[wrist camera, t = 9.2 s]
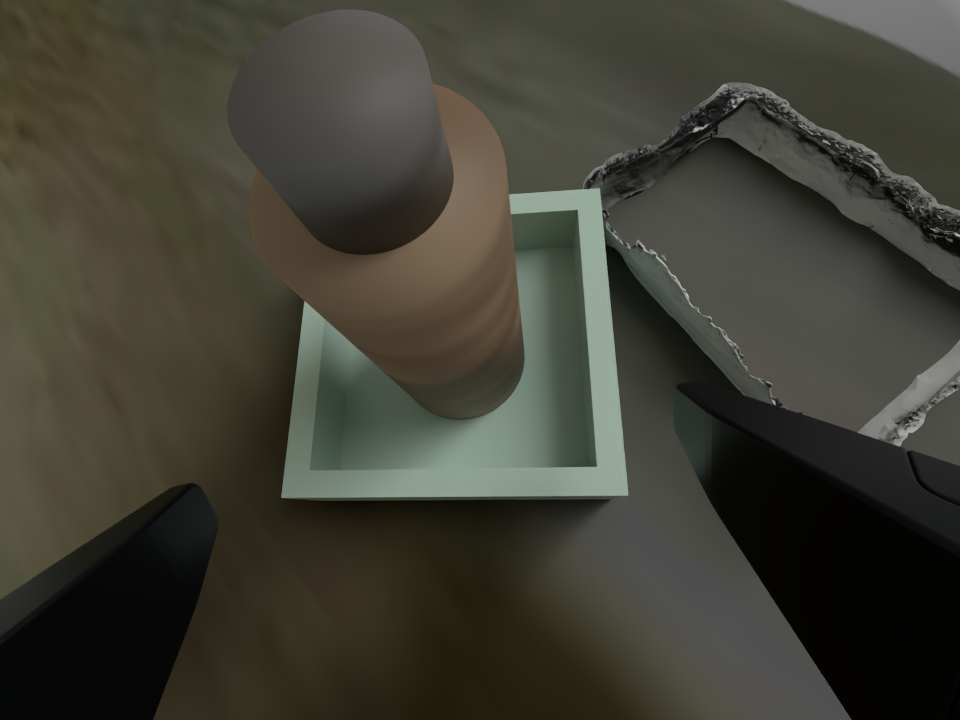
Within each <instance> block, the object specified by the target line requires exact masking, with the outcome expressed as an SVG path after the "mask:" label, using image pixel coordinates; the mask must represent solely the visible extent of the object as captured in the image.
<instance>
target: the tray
mask: <svg viewBox="0 0 960 720" xmlns="http://www.w3.org/2000/svg"><path fill="white" fill-rule="evenodd" d="M509 199H510V209H511V220H512V230H513V240H514V250H515V261H516V271H517V281H518V291H519V302H520V312H521V322H522V332H523V343H524V354H525V360H524V368H523V373H522V376H521V379H520V381H519V383H518V385H517V387H516V389H515V390H514V392H513V393H512V395H511V396H510V397H509V398H508V399H507V400H506V401H505V402H504V403H503V404H502V405H501V406H499V407H498V408H496V409H495V410H493V411H492V412H490V413H487V414H485V415H483V416H480V417H477V418H472V419H464V420H456V419H448V418H443V417H440V416H438V415H435V414H433V413H431V412H429V411H427V410H426V409H425V408H423V407H422V406H421V405H420V404H418V403H417V402H416V401H415V400H414V399H413V398H412V397H411V396H410V395H408V394H407V393H406V392H405V391H404V390H403V389H402V388H401V387H400V386H398V385H397V384H396V383H395V382H394V381H393V380H392V379H391V378H390V377H388V376H387V375H386V374H385V373H384V372H383V371H382V370H381V369H380V368H379V367H377V366H376V365H375V364H374V363H373V362H372V361H371V360H370V359H369V358H367V357H366V356H365V355H364V354H363V353H362V352H361V351H360V350H359V349H357V348H356V347H355V346H354V345H353V344H352V343H351V342H350V341H349V340H347V339H346V338H345V337H344V336H343V335H342V334H341V333H340V332H339V331H337V330H336V329H335V328H334V327H333V326H332V325H331V324H330V323H329V322H327V321H326V320H325V319H324V318H323V317H322V316H321V315H320V314H319V313H317V312H316V311H315V310H314V309H313V308H312V307H311V306H310V305H309V304H307V303H306V302H305V301H304V310H303V318H302V326H301V335H300V343H299V352H298V360H297V369H296V377H295V386H294V394H293V402H292V411H291V419H290V428H289V436H288V445H287V453H286V461H285V470H284V478H283V487H282V495H281V498H289V499H303V500H317V501H390V500H556V499H615V498H620V497H624V496H628V486H627V476H626V465H625V454H624V443H623V433H622V422H621V411H620V400H619V389H618V379H617V368H616V357H615V346H614V336H613V325H612V314H611V303H610V292H609V282H608V271H607V260H606V249H605V238H604V228H603V217H602V206H601V195H600V188H596V189H582V190H568V191H553V192H539V193H525V194H510V195H509Z"/></svg>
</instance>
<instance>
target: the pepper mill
mask: <svg viewBox="0 0 960 720" xmlns="http://www.w3.org/2000/svg"><path fill="white" fill-rule="evenodd" d="M227 116H228V123H229V127H230V130H231V133H232V135H233V137H234V139H235V141H236V143H237V144H238V145H239V147H240V148H241V149H242V150H243V152H244V153H245V154H246V155H247V156H248V158H249V159H250V160H251V161H252V163H253V164H254V165H255V166H256V167H257V169H256V172H255V174H254V177H253V181H252V184H251V188H250V194H249V201H248V218H249V224H250V231H251V234H252V237H253V240H254V243H255V246H256V248H257V250H258V252H259V253H260V255H261V257H262V259H263V260H264V261H265V263H266V264H267V265H268V267H269V268H270V269H271V270H272V271H273V272H274V273H275V274H276V275H277V276H278V277H279V278H280V279H281V280H282V281H283V282H284V283H285V284H286V285H288V286H289V287H290V288H291V289H292V290H293V291H294V292H295V293H296V294H298V295H299V296H300V297H301V298H302V299H303V300H304V301H305V302H306V303H307V304H309V305H310V306H311V307H312V308H313V309H314V310H315V311H316V312H317V313H319V314H320V315H321V316H322V317H323V318H324V319H325V320H326V321H327V322H329V323H330V324H331V325H332V326H333V327H334V328H335V329H336V330H337V331H339V332H340V333H341V334H342V335H343V336H344V337H345V338H346V339H347V340H349V341H350V342H351V343H352V344H353V345H354V346H355V347H356V348H357V349H359V350H360V351H361V352H362V353H363V354H364V355H365V356H366V357H367V358H369V359H370V360H371V361H372V362H373V363H374V364H375V365H376V366H377V367H379V368H380V369H381V370H382V371H383V372H384V373H385V374H386V375H387V376H388V377H390V378H391V379H392V380H393V381H394V382H395V383H396V384H397V385H398V386H400V387H401V388H402V389H403V390H404V391H405V392H406V393H407V394H408V395H410V396H411V397H412V398H413V399H414V400H415V401H416V402H417V403H418V404H420V405H421V406H422V407H423V408H425V409H426V410H427V411H429V412H431V413H433V414H435V415H438V416H440V417H443V418H448V419H456V420H464V419H472V418H477V417H480V416H483V415H485V414H487V413H490V412H492V411H493V410H495V409H496V408H498V407H499V406H501V405H502V404H503V403H504V402H505V401H506V400H507V399H508V398H509V397H510V396H511V395H512V393H513V392H514V390H515V389H516V387H517V385H518V383H519V381H520V379H521V376H522V373H523V368H524V360H525V354H524V343H523V332H522V322H521V312H520V302H519V291H518V281H517V271H516V261H515V250H514V240H513V230H512V220H511V209H510V199H509V189H508V179H507V169H506V160H505V156H504V151H503V147H502V145H501V142H500V139H499V137H498V134H497V133H496V131H495V129H494V128H493V126H492V124H491V123H490V121H489V120H488V119H487V118H486V116H485V115H484V114H483V113H482V112H481V111H480V110H479V109H478V108H477V107H476V106H475V105H474V104H472V103H471V102H470V101H468V100H467V99H465V98H464V97H462V96H461V95H459V94H457V93H455V92H453V91H451V90H449V89H447V88H445V87H442V86H439V85H436V84H433V83H432V80H431V76H430V72H429V68H428V64H427V60H426V56H425V54H424V51H423V48H422V47H421V45H420V43H419V41H418V40H417V39H416V37H415V36H414V35H413V34H412V33H411V32H410V31H409V30H408V29H407V28H406V27H405V26H403V25H402V24H400V23H399V22H397V21H396V20H394V19H392V18H389V17H387V16H385V15H382V14H378V13H375V12H370V11H364V10H335V11H328V12H323V13H319V14H315V15H312V16H309V17H306V18H303V19H301V20H298V21H296V22H294V23H292V24H290V25H288V26H286V27H284V28H282V29H281V30H279V31H278V32H276V33H275V34H273V35H272V36H270V37H269V38H268V39H266V40H265V41H264V42H263V43H262V44H260V45H259V46H258V47H257V48H256V49H255V50H254V51H253V52H252V53H251V55H250V56H249V57H248V58H247V60H246V61H245V62H244V63H243V65H242V67H241V68H240V70H239V71H238V73H237V75H236V77H235V79H234V81H233V84H232V87H231V90H230V93H229V98H228V104H227Z"/></svg>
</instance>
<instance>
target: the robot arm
mask: <svg viewBox="0 0 960 720" xmlns="http://www.w3.org/2000/svg"><path fill="white" fill-rule="evenodd" d="M672 395H673V421H674V428H675V431H676V434H677V436H678V438H679V440H680V442H681V444H682V446H683V448H684V451H685V453H686V455H687V457H688V459H689V461H690V463H691V465H692V467H693V469H694V471H695V473H696V475H697V477H698V479H699V481H700V483H701V485H702V487H703V489H704V491H705V493H706V495H707V497H708V499H709V500H710V502H711V504H712V506H713V507H714V509H715V511H716V512H717V514H718V516H719V517H720V519H721V520H722V522H723V523H724V525H725V526H726V528H727V529H728V531H729V533H730V534H731V536H732V537H733V539H734V540H735V542H736V543H737V545H738V546H739V548H740V549H741V551H742V552H743V554H744V555H745V557H746V559H747V560H748V562H749V563H750V565H751V566H752V568H753V569H754V571H755V572H756V574H757V575H758V577H759V578H760V580H761V582H762V583H763V585H764V586H765V588H766V589H767V591H768V592H769V594H770V595H771V597H772V598H773V600H774V601H775V603H776V605H777V606H778V608H779V609H780V611H781V612H782V614H783V615H784V617H785V618H786V620H787V621H788V623H789V624H790V626H791V627H792V629H793V631H794V632H795V634H796V635H797V637H798V638H799V640H800V641H801V643H802V644H803V646H804V647H805V649H806V650H807V652H808V654H809V655H810V657H811V658H812V660H813V661H814V663H815V664H816V666H817V667H818V669H819V670H820V672H821V673H822V675H823V677H824V678H825V680H826V681H827V683H828V684H829V686H830V687H831V689H832V690H833V692H834V693H835V695H836V696H837V698H838V699H839V701H840V703H841V704H842V706H843V707H844V709H845V710H846V712H847V713H848V715H849V716H850V718H851V719H852V720H960V466H958V465H955V464H952V463H949V462H945V461H942V460H939V459H936V458H933V457H930V456H927V455H924V454H921V453H918V452H915V451H912V450H910V451H908V452H907V451H906V450H905V448H903V447H900V446H897V445H894V444H891V443H888V442H885V441H882V440H878V439H875V438H872V437H869V436H866V435H863V434H860V433H857V432H854V431H851V430H848V429H845V428H842V427H839V426H836V425H833V424H830V423H827V422H824V421H821V420H818V419H815V418H812V417H809V416H806V415H803V414H800V413H797V412H794V411H790V410H787V409H784V408H781V407H778V406H775V405H772V404H769V403H766V402H763V401H760V400H757V399H754V398H751V397H748V396H745V395H742V394H739V393H736V392H733V391H730V390H727V389H724V388H721V387H718V386H715V385H712V384H709V383H706V382H702V381H699V380H692V381H687V382H682V383H678V384H676V385H675V386H674V387H673V391H672ZM217 530H218V517H217V514H216V512H215V510H214V508H213V507H212V505H211V503H210V502H209V500H208V498H207V497H206V495H205V493H204V491H203V490H202V488H201V487H200V486H199V485H198V484H195V483H188V484H183V485H179V486H174V487H172V488H170V489H168V490H167V491H165V492H164V493H162V494H160V495H159V496H157V497H156V498H154V499H153V500H151V501H150V502H148V503H147V504H145V505H144V506H142V507H141V508H139V509H138V510H136V511H134V512H133V513H131V514H130V515H128V516H127V517H125V518H124V519H122V520H121V521H119V522H118V523H116V524H115V525H113V526H111V527H110V528H108V529H107V530H105V531H104V532H102V533H101V534H99V535H98V536H96V537H95V538H93V539H92V540H90V541H89V542H87V543H85V544H84V545H82V546H81V547H79V548H78V549H76V550H75V551H73V552H72V553H70V554H69V555H67V556H66V557H64V558H62V559H61V560H59V561H58V562H56V563H55V564H53V565H52V566H50V567H49V568H47V569H46V570H44V571H43V572H41V573H40V574H38V575H36V576H35V577H33V578H32V579H30V580H29V581H27V582H26V583H24V584H23V585H21V586H20V587H18V588H17V589H15V590H13V591H12V592H10V593H9V594H7V595H6V596H4V597H3V598H1V599H0V720H153V718H154V715H155V713H156V710H157V708H158V705H159V702H160V700H161V697H162V694H163V692H164V689H165V687H166V684H167V681H168V679H169V676H170V674H171V671H172V668H173V666H174V663H175V660H176V658H177V655H178V653H179V650H180V647H181V645H182V642H183V640H184V637H185V634H186V632H187V629H188V627H189V624H190V621H191V619H192V616H193V613H194V610H195V607H196V605H197V601H198V598H199V595H200V592H201V588H202V584H203V581H204V577H205V573H206V570H207V566H208V563H209V559H210V555H211V552H212V548H213V544H214V541H215V537H216V533H217Z"/></svg>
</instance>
